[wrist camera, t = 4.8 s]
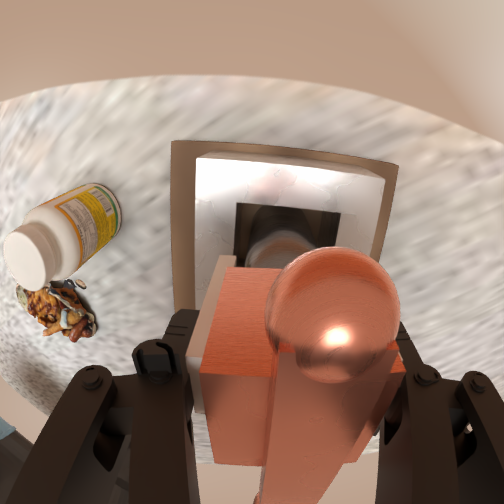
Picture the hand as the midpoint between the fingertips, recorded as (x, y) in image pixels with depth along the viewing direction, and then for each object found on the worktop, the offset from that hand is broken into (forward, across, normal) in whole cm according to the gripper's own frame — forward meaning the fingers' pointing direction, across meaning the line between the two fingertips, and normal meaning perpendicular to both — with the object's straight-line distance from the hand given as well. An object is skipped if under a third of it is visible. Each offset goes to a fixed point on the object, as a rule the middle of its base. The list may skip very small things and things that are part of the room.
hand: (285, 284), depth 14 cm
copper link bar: (+8, 0, 0) cm, 8 cm away
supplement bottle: (+9, -15, 0) cm, 18 cm away
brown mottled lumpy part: (+10, -24, -10) cm, 28 cm away
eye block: (+8, 0, 0) cm, 8 cm away
